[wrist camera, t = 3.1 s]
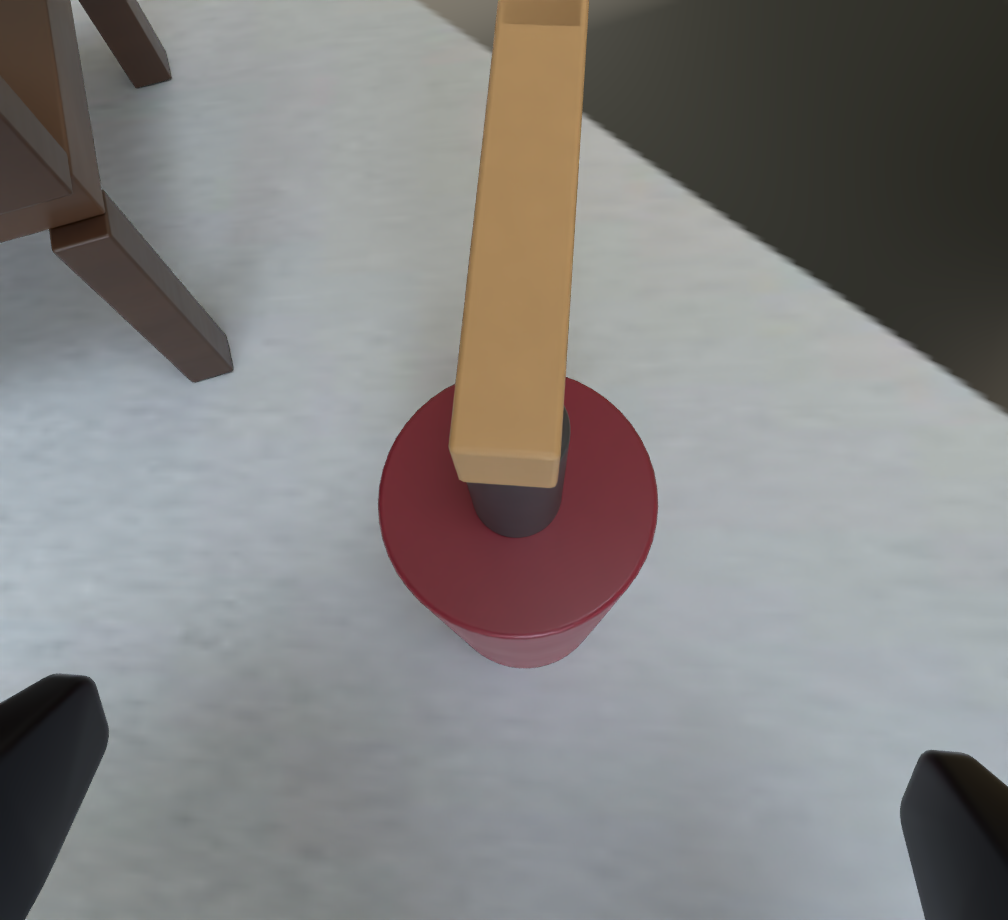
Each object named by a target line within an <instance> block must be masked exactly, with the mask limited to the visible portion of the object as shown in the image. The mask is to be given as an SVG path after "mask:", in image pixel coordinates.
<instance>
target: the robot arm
mask: <svg viewBox="0 0 1008 920" xmlns="http://www.w3.org/2000/svg"><path fill="white" fill-rule="evenodd" d="M108 738H109V728H108V723H107V720H106V717H105V713H104V710H103V707H102V703H101V700H100V697H99V693H98V690H97V687H96V684H95V682H94V681H93V680H92V679H91V678H90V677H87V676H82V675H71V674H52V675H49V676H47V677H45V678H43V679H41V680H40V681H38V682H36V683H34V684H33V685H31V686H29V687H27V688H26V689H24V690H22V691H20V692H19V693H17V694H15V695H13V696H12V697H10V698H8V699H7V700H5V701H3V702H1V703H0V920H25V918H26V916H27V915H28V913H29V911H30V909H31V907H32V906H33V904H34V902H35V900H36V898H37V896H38V895H39V893H40V891H41V889H42V887H43V885H44V883H45V881H46V879H47V877H48V875H49V873H50V871H51V869H52V867H53V865H54V863H55V861H56V858H57V856H58V854H59V852H60V850H61V847H62V845H63V843H64V841H65V839H66V836H67V834H68V832H69V830H70V828H71V825H72V823H73V821H74V819H75V816H76V814H77V812H78V810H79V808H80V805H81V803H82V801H83V799H84V797H85V794H86V792H87V790H88V788H89V786H90V783H91V781H92V779H93V777H94V775H95V772H96V770H97V768H98V766H99V764H100V761H101V759H102V757H103V755H104V752H105V750H106V747H107V743H108ZM900 819H901V825H902V830H903V834H904V838H905V842H906V846H907V849H908V853H909V857H910V861H911V865H912V869H913V873H914V877H915V881H916V885H917V889H918V893H919V897H920V901H921V905H922V908H923V912H924V916H925V920H1008V786H1006V785H1005V784H1004V783H1003V782H1002V781H1000V780H999V779H998V778H997V777H996V776H995V775H993V774H992V773H991V772H990V771H989V770H987V769H986V768H985V767H984V766H983V765H982V764H980V763H979V762H978V761H977V760H975V759H974V758H973V757H971V756H969V755H967V754H964V753H960V752H949V751H938V750H928V751H925V752H924V753H923V754H922V755H921V756H920V757H919V759H918V762H917V764H916V766H915V769H914V771H913V774H912V776H911V779H910V781H909V783H908V786H907V788H906V791H905V793H904V795H903V798H902V801H901V806H900Z"/></svg>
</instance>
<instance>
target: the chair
mask: <svg viewBox="0 0 1008 920" xmlns="http://www.w3.org/2000/svg"><path fill="white" fill-rule="evenodd" d="M79 2H80V3H81V5H82V6H83V8H84V10H85V11H86V13H87V14H88V16H89V17H90V19H91V20H92V22H93V23H94V25H95V27H96V28H97V30H98V31H99V33H100V34H101V36H102V37H103V39H104V40H105V42H106V43H107V45H108V47H109V48H110V50H111V51H112V53H113V54H114V56H115V57H116V59H117V60H118V62H119V63H120V65H121V67H122V68H123V70H124V71H125V73H126V74H127V76H128V77H129V79H130V80H131V82H132V83H133V85H134V87H135V88H139V87H143V86H147V85H150V84H154V83H158V82H162V81H165V80H169V79H171V74H170V69H169V65H168V60H167V55H166V51H165V50H164V48H163V46H162V44H161V43H160V41H159V39H158V37H157V36H156V34H155V32H154V30H153V29H152V27H151V25H150V23H149V22H148V20H147V18H146V16H145V14H144V13H143V11H142V9H141V7H140V6H139V4H138V2H137V0H79ZM48 229H49V232H50V239H51V246H52V251H53V252H54V254H55V255H57V256H58V257H59V258H60V259H61V260H62V261H63V262H64V263H65V264H66V265H67V266H68V267H69V268H70V269H72V270H73V271H74V272H75V273H76V274H77V275H78V276H79V277H80V278H81V279H82V280H83V281H84V282H85V283H87V284H88V285H89V286H90V287H91V288H92V289H93V290H94V291H95V292H96V293H97V294H98V295H99V296H100V297H102V298H103V299H104V300H105V301H106V302H107V303H108V304H109V305H110V306H111V307H112V308H113V309H114V310H115V311H117V312H118V313H119V314H120V315H121V316H122V317H123V318H124V319H125V320H126V321H127V322H128V323H129V324H131V325H132V326H133V327H134V328H135V329H136V330H137V331H138V332H139V333H140V334H141V335H142V336H143V337H144V338H146V339H147V340H148V341H149V342H150V343H151V344H152V345H153V346H154V347H155V348H156V349H157V350H158V351H159V352H161V353H162V354H163V355H164V356H165V357H166V358H167V359H168V360H169V361H170V362H171V363H172V364H173V365H174V366H176V367H177V368H178V369H179V370H180V371H181V372H182V373H183V374H184V375H185V376H186V377H187V378H188V379H189V380H191V381H192V382H198V381H201V380H204V379H208V378H211V377H215V376H218V375H221V374H225V373H228V372H232V371H233V365H232V360H231V356H230V351H229V346H228V342H227V337H226V335H225V334H224V333H223V332H222V330H221V329H220V328H219V327H218V326H217V324H216V323H215V322H214V321H213V320H212V318H211V317H210V316H209V315H208V314H207V313H206V311H205V310H204V309H203V308H202V307H201V305H200V304H199V303H198V302H197V301H196V299H195V298H194V297H193V296H192V295H191V294H190V292H189V291H188V290H187V289H186V288H185V286H184V285H183V284H182V283H181V282H180V280H179V279H178V278H177V277H176V276H175V275H174V273H173V272H172V271H171V270H170V269H169V267H168V266H167V265H166V264H165V263H164V261H163V260H162V259H161V258H160V257H159V256H158V254H157V253H156V252H155V251H154V250H153V248H152V247H151V246H150V245H149V244H148V242H147V241H146V240H145V239H144V238H143V237H142V235H141V234H140V233H139V232H138V231H137V229H136V228H135V227H134V226H133V225H132V224H131V222H130V221H129V220H128V219H127V218H126V216H125V215H124V214H123V213H122V212H121V210H120V209H119V208H118V207H117V206H116V205H115V203H114V202H113V201H112V200H111V199H110V197H109V196H108V195H107V194H106V193H105V191H104V190H102V189H101V183H100V177H99V171H98V165H97V159H96V153H95V147H94V141H93V135H92V129H91V123H90V117H89V111H88V105H87V99H86V93H85V87H84V80H83V74H82V68H81V62H80V56H79V50H78V44H77V38H76V32H75V26H74V20H73V14H72V8H71V2H70V0H0V243H2V242H5V241H9V240H12V239H16V238H20V237H23V236H27V235H30V234H34V233H38V232H41V231H45V230H48Z"/></svg>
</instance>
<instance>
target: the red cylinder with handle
mask: <svg viewBox="0 0 1008 920" xmlns="http://www.w3.org/2000/svg"><path fill="white" fill-rule="evenodd" d="M588 8H589V0H498V6H497V15H496V25H495V33H494V42H493V51H492V60H491V69H490V78H489V87H488V96H487V105H486V114H485V123H484V132H483V141H482V150H481V158H480V167H479V176H478V185H477V194H476V203H475V212H474V221H473V230H472V239H471V248H470V257H469V266H468V275H467V284H466V293H465V302H464V311H463V320H462V329H461V338H460V347H459V356H458V365H457V374H456V383H455V384H454V385H452V386H450V387H448V388H446V389H444V390H443V391H441V392H440V393H438V394H437V395H436V396H434V397H433V398H431V399H430V400H429V401H428V402H427V403H425V404H424V405H423V406H422V407H421V408H420V409H419V410H417V412H416V413H415V414H414V415H413V416H412V417H411V418H410V420H409V421H408V422H407V423H406V424H405V426H404V427H403V429H402V430H401V432H400V433H399V435H398V436H397V438H396V440H395V442H394V444H393V445H392V447H391V449H390V451H389V453H388V456H387V459H386V462H385V465H384V468H383V471H382V476H381V481H380V486H379V497H378V512H379V524H380V529H381V534H382V539H383V542H384V545H385V548H386V551H387V554H388V557H389V559H390V560H391V562H392V564H393V566H394V568H395V570H396V572H397V574H398V575H399V577H400V578H401V580H402V581H403V582H404V584H405V585H406V587H407V588H408V589H409V590H410V591H411V592H412V594H413V595H414V596H415V597H416V598H417V599H418V600H419V601H420V602H421V603H422V604H423V605H424V606H426V607H427V608H428V609H429V610H430V611H431V612H432V613H434V614H435V615H436V616H437V617H438V618H439V619H440V620H442V621H443V622H444V623H445V624H446V625H447V626H448V627H450V628H451V629H452V630H453V631H454V632H455V633H457V634H458V635H459V636H460V637H461V638H462V639H463V640H465V641H466V642H467V643H468V644H469V645H470V646H471V647H473V648H474V649H475V650H476V651H477V652H479V653H480V654H481V655H483V656H484V657H486V658H488V659H489V660H492V661H494V662H496V663H498V664H502V665H505V666H508V667H515V668H535V667H541V666H545V665H549V664H551V663H554V662H556V661H559V660H560V659H562V658H564V657H565V656H567V655H569V654H570V653H571V652H572V651H574V650H575V649H576V648H577V647H578V646H579V645H580V644H581V643H582V642H583V641H584V640H585V638H586V637H587V636H588V635H589V634H590V632H591V631H592V630H593V629H594V628H595V627H596V625H597V624H598V623H599V622H600V621H601V619H602V618H603V617H604V616H605V615H606V614H607V612H608V611H609V610H610V609H611V608H612V606H613V605H614V604H615V603H616V602H617V601H618V599H619V598H620V597H621V596H622V595H623V593H624V592H625V591H626V590H627V588H628V587H629V586H630V584H631V583H632V582H633V580H634V579H635V578H636V576H637V575H638V573H639V571H640V569H641V567H642V566H643V564H644V562H645V560H646V558H647V555H648V553H649V550H650V547H651V545H652V542H653V538H654V533H655V529H656V524H657V513H658V494H657V485H656V479H655V474H654V470H653V467H652V464H651V461H650V458H649V455H648V452H647V450H646V448H645V446H644V444H643V442H642V440H641V438H640V437H639V435H638V434H637V432H636V431H635V429H634V428H633V426H632V424H631V423H630V422H629V421H628V420H627V419H626V417H625V416H624V415H623V414H622V413H621V412H620V411H619V410H618V409H617V408H616V407H615V406H614V405H613V404H612V403H611V402H609V401H608V400H607V399H606V398H604V397H603V396H601V395H600V394H599V393H597V392H596V391H594V390H593V389H591V388H589V387H587V386H585V385H583V384H581V383H580V382H578V381H575V380H573V379H570V378H567V377H566V361H567V345H568V329H569V313H570V297H571V281H572V265H573V249H574V233H575V217H576V201H577V185H578V169H579V153H580V137H581V121H582V105H583V89H584V73H585V57H586V40H587V24H588Z"/></svg>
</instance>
